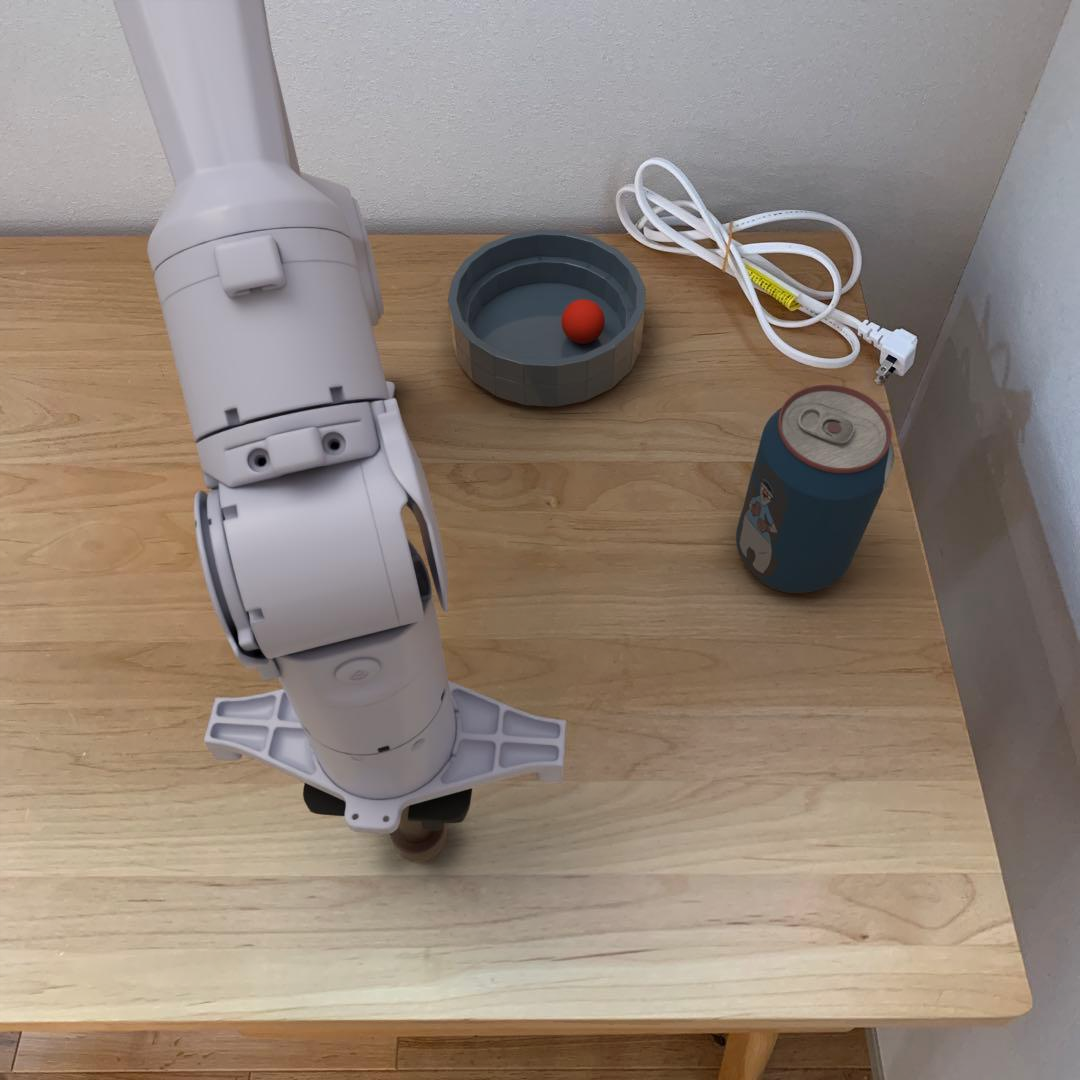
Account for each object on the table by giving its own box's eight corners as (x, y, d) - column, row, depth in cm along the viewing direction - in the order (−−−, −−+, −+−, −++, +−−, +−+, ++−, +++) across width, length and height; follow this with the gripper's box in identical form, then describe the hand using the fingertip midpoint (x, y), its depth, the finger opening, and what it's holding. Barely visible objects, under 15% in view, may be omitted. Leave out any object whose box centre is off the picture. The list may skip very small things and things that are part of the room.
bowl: (443, 407, 69) (436, 360, 66) (465, 274, 77) (460, 225, 73) (638, 417, 69) (643, 370, 65) (641, 282, 76) (646, 233, 72)
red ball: (559, 351, 71) (560, 319, 69) (562, 321, 73) (562, 289, 70) (603, 353, 71) (604, 321, 69) (604, 323, 73) (606, 291, 70)
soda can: (864, 536, 63) (922, 406, 53) (822, 621, 60) (877, 499, 50) (759, 492, 65) (797, 358, 55) (714, 572, 62) (745, 444, 52)
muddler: (388, 860, 52) (363, 801, 44) (396, 806, 53) (373, 741, 46) (443, 864, 51) (427, 806, 44) (450, 810, 53) (435, 745, 46)
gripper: (145, 772, 36) (241, 882, 47) (559, 801, 35) (557, 905, 46) (197, 599, 40) (275, 738, 51) (571, 621, 39) (566, 758, 50)
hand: (410, 808), depth 49 cm, fingers closed on muddler, 2 cm apart
